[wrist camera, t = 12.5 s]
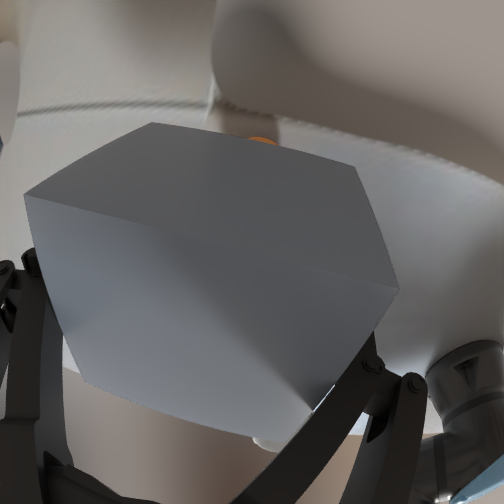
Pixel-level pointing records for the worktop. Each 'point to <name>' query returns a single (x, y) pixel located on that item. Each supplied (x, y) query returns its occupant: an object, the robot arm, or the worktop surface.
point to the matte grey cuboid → (211, 274)
